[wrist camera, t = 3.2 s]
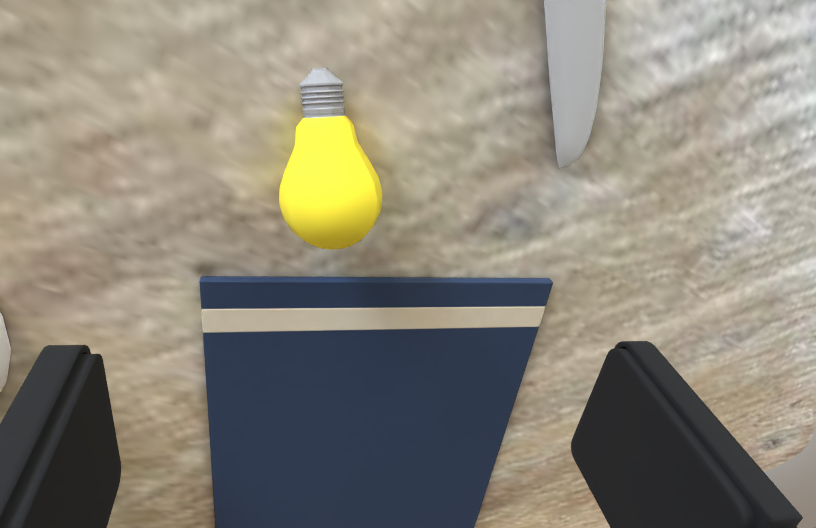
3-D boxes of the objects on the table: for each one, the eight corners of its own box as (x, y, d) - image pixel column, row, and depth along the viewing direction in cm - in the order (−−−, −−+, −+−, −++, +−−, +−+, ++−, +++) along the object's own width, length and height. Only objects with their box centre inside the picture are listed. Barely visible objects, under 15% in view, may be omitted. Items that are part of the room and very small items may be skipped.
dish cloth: (200, 276, 22) (199, 281, 21) (549, 277, 25) (553, 282, 25) (219, 579, 32) (219, 586, 32) (463, 549, 36) (465, 556, 36)
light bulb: (304, 236, 22) (272, 262, 18) (287, 74, 20) (248, 69, 17) (390, 234, 21) (374, 261, 18) (380, 68, 19) (360, 62, 16)
